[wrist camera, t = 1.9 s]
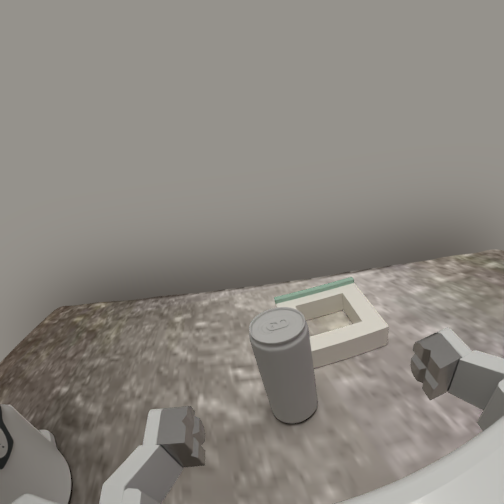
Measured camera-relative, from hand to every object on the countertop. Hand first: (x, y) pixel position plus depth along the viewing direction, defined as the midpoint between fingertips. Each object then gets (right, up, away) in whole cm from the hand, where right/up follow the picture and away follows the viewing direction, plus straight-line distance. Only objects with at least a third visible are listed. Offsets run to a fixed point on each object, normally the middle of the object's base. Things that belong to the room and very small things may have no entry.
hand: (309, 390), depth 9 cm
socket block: (+8, -6, +28) cm, 30 cm away
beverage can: (+3, -12, +18) cm, 22 cm away
